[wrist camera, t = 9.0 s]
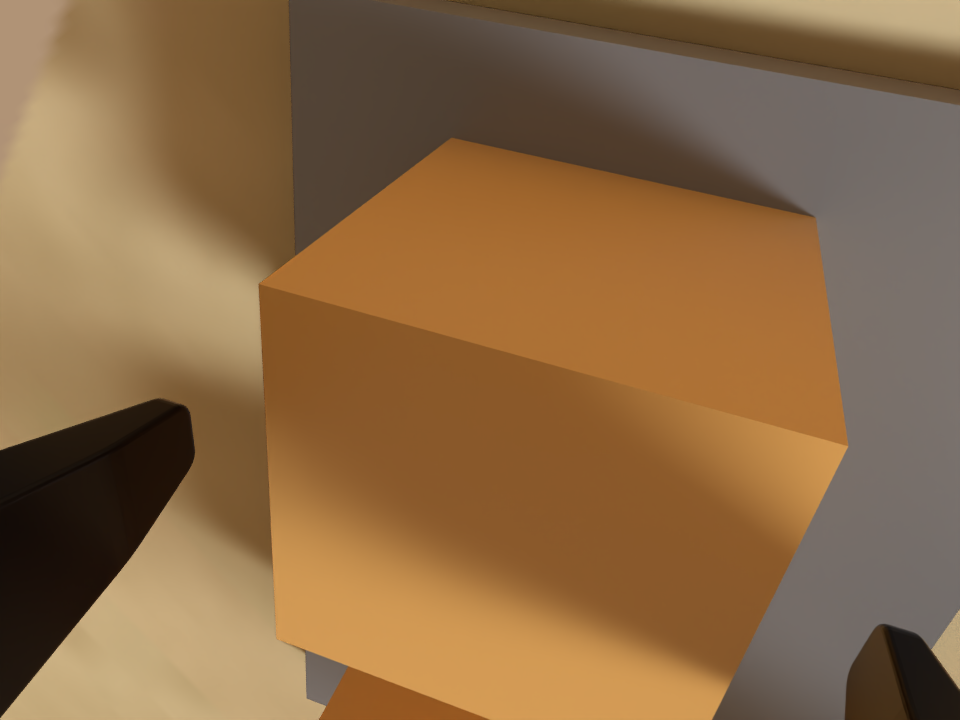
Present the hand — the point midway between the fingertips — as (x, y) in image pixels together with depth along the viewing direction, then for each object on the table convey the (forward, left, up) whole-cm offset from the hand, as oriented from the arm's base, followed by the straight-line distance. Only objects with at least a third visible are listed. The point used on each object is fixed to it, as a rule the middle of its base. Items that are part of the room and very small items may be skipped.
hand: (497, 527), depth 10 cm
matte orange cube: (0, 0, -5) cm, 5 cm away
